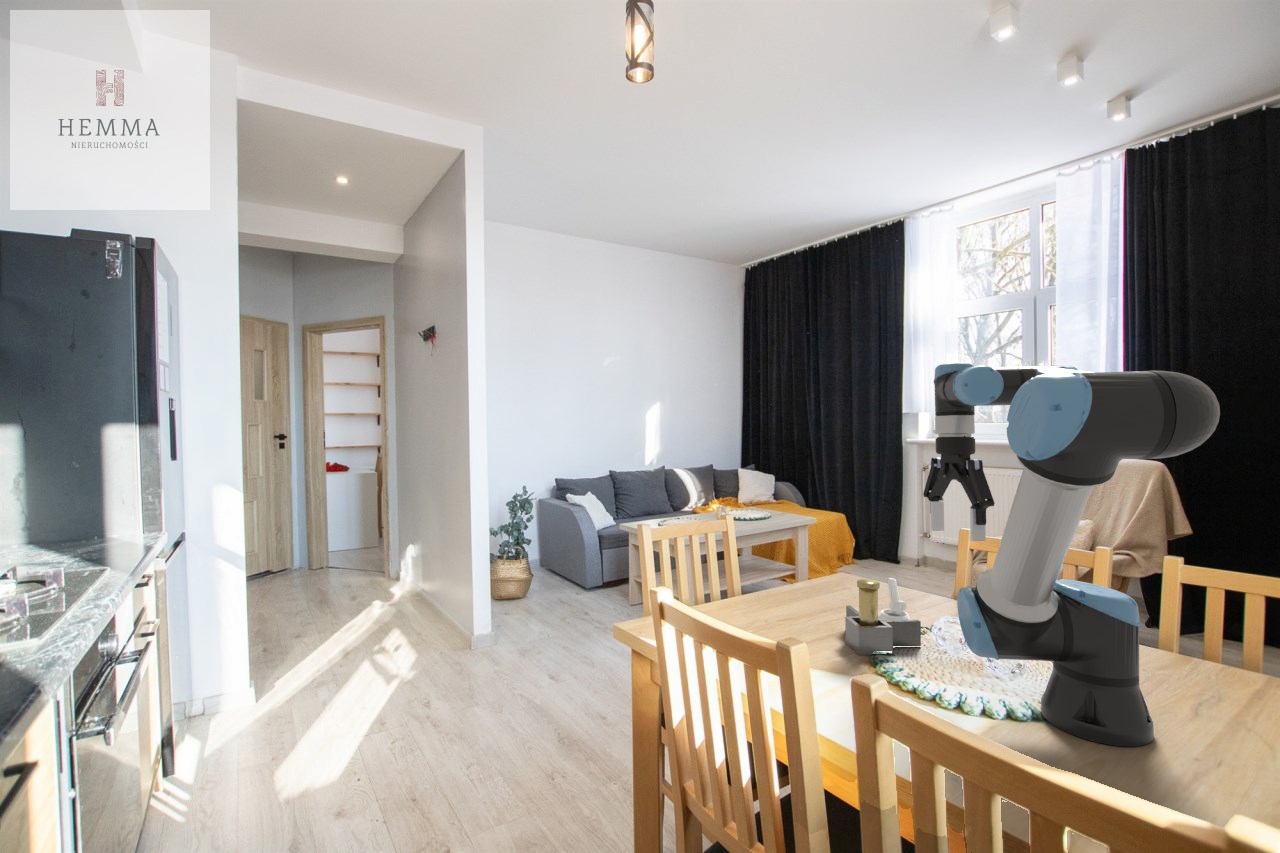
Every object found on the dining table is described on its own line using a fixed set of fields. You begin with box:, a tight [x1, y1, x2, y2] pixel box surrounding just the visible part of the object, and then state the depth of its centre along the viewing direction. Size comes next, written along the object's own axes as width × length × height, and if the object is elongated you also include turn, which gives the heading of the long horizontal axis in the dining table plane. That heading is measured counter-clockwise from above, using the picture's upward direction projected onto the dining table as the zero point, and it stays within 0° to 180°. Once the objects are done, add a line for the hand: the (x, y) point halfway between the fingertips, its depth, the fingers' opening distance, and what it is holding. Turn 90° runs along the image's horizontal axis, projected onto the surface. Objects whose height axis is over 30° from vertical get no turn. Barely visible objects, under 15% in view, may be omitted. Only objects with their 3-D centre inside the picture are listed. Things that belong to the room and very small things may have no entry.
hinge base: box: [844, 605, 922, 656], centre depth 139 cm, size 16×16×6 cm
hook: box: [878, 577, 912, 621], centre depth 157 cm, size 8×12×7 cm
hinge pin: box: [856, 578, 881, 626], centre depth 135 cm, size 5×5×15 cm
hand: (956, 535), depth 127 cm, fingers open, 13 cm apart
